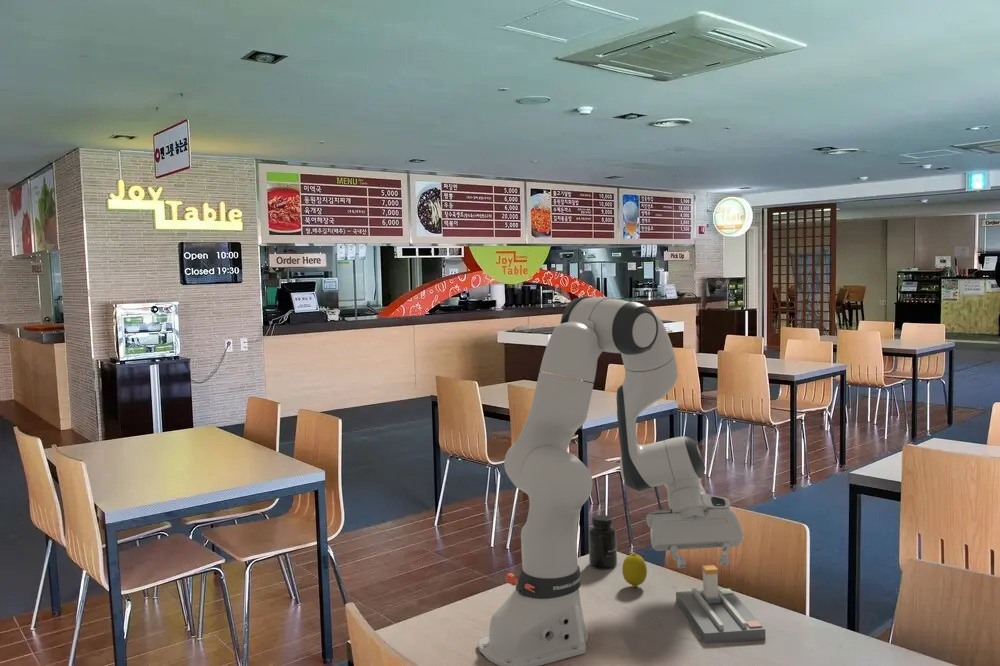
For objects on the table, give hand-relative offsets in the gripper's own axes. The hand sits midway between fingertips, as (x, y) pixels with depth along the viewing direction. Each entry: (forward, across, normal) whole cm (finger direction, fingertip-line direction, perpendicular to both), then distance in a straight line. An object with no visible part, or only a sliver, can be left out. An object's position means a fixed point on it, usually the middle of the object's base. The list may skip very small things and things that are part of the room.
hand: (703, 565), depth 171 cm
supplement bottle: (-12, -18, +23) cm, 32 cm away
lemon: (-1, -13, +13) cm, 18 cm away
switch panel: (+12, 0, -1) cm, 12 cm away
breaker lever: (+7, 0, +1) cm, 7 cm away
